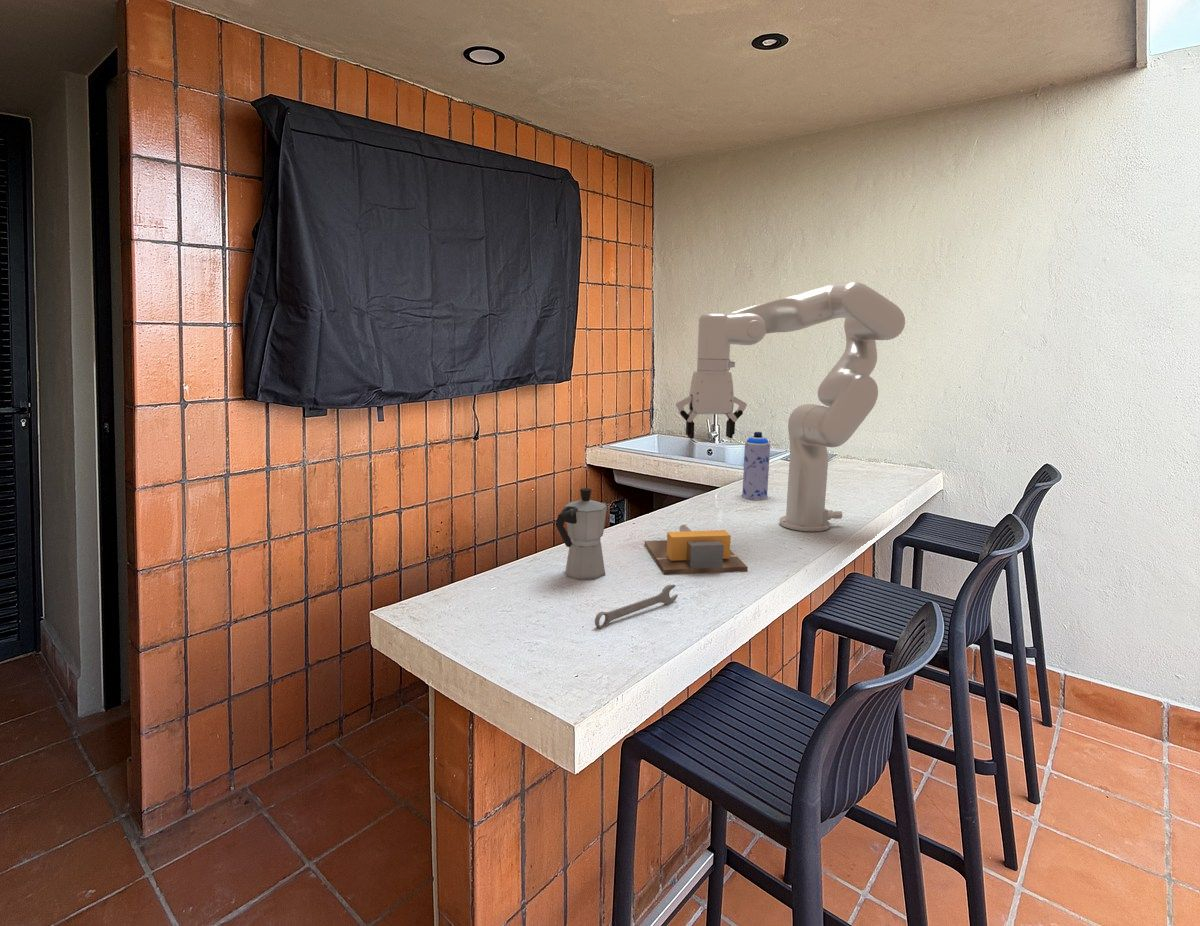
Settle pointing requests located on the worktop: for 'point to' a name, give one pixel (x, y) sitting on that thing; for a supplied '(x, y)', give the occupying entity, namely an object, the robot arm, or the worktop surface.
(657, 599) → the combination wrench
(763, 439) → the aerosol can
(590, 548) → the coffee maker
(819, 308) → the robot arm
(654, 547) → the pipe board
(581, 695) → the worktop surface
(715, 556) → the grey block with rod
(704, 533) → the collar
